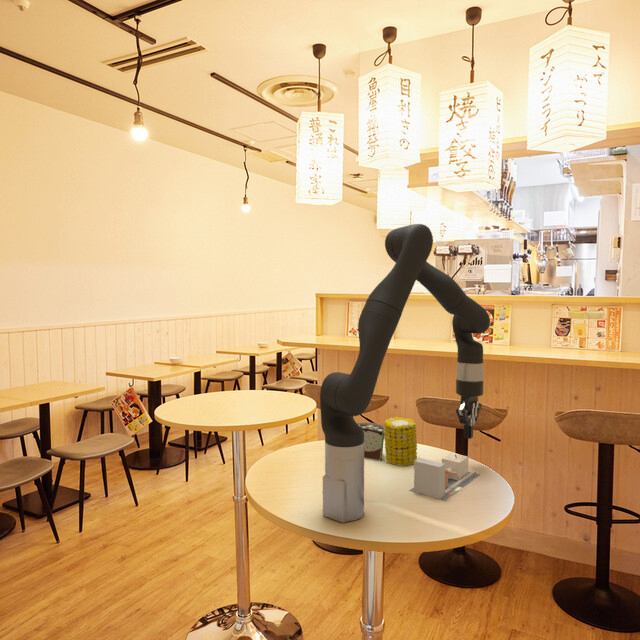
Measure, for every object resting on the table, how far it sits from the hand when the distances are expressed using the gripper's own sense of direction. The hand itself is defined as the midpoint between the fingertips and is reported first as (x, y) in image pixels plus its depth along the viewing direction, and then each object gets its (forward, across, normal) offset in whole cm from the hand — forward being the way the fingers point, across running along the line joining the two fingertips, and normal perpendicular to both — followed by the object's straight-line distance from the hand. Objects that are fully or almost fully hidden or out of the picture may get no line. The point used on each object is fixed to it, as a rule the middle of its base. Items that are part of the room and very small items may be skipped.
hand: (468, 437), depth 141 cm
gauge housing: (+9, -10, 0) cm, 13 cm away
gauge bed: (+10, -14, 0) cm, 18 cm away
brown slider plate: (+9, -18, -1) cm, 21 cm away
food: (+11, -7, +18) cm, 22 cm away
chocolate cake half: (+11, -5, +30) cm, 32 cm away
